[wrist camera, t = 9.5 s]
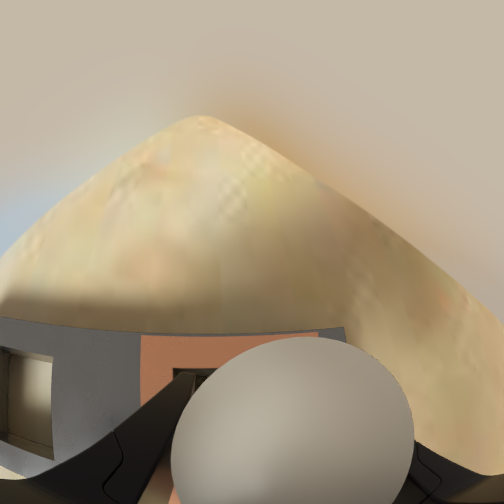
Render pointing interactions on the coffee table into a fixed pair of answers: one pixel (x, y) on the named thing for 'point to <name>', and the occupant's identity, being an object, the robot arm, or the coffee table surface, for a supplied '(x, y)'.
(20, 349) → the rail
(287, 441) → the peg
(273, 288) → the coffee table surface
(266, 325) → the coffee table surface
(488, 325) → the coffee table surface
